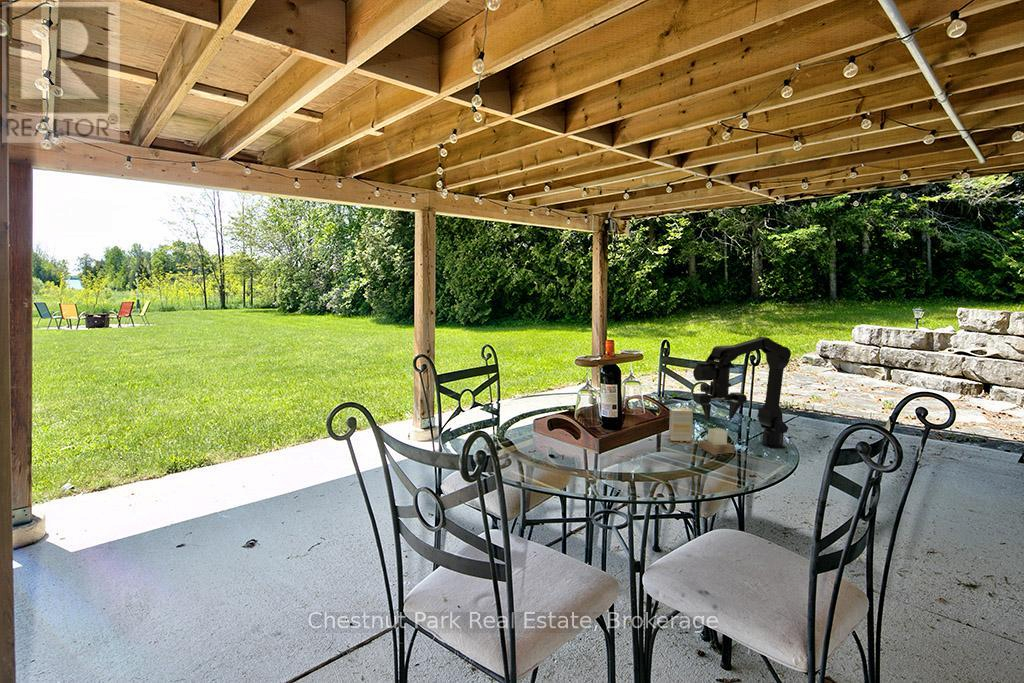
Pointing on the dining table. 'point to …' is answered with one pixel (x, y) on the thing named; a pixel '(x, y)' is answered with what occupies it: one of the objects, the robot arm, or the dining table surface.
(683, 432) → the supplement box
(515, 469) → the dining table surface
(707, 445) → the walnut block
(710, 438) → the cube
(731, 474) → the dining table surface
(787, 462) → the dining table surface
